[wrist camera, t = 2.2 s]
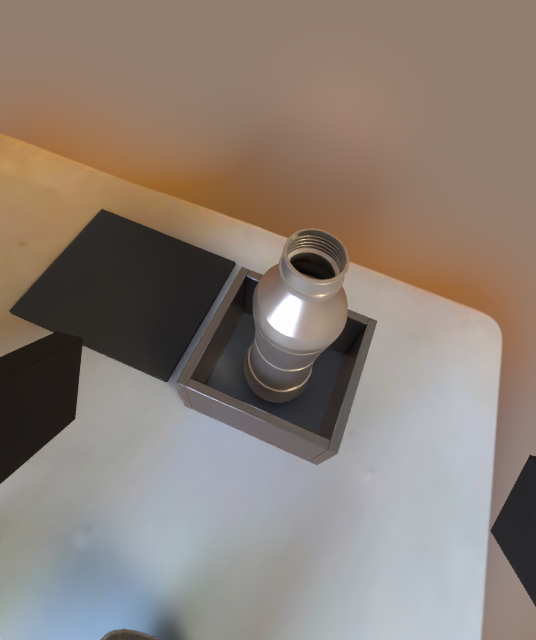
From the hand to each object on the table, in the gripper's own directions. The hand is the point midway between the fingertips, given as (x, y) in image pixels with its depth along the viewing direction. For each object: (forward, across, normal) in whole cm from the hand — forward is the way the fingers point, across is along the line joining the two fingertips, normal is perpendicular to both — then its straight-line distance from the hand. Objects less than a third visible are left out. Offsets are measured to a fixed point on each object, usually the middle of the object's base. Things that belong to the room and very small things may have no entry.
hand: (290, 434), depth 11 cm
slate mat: (+29, -18, -6) cm, 35 cm away
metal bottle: (+25, 0, -10) cm, 27 cm away
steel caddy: (+25, 0, -10) cm, 27 cm away
